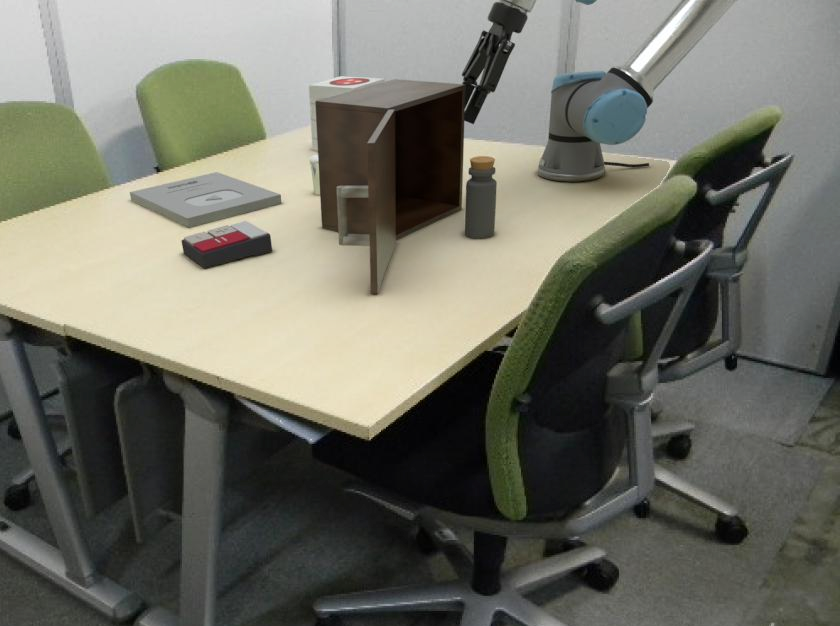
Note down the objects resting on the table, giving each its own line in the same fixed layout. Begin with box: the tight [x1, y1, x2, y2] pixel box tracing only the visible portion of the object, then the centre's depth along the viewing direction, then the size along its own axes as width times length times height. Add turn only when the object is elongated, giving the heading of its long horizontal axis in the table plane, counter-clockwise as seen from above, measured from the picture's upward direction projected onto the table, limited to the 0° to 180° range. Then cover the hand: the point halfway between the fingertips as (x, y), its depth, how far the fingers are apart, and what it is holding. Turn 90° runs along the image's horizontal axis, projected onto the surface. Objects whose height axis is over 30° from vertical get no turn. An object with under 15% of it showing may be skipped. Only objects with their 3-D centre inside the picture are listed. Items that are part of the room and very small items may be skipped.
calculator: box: [181, 220, 273, 269], centre depth 170 cm, size 11×4×15 cm
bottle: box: [464, 155, 498, 239], centre depth 168 cm, size 6×6×15 cm
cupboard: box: [315, 78, 466, 241], centre depth 177 cm, size 18×26×26 cm
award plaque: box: [129, 171, 282, 229], centre depth 204 cm, size 25×30×2 cm
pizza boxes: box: [308, 75, 386, 152], centre depth 233 cm, size 19×30×18 cm, turn 31°
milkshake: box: [309, 154, 320, 196], centre depth 202 cm, size 4×5×10 cm
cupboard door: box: [337, 110, 397, 295], centre depth 153 cm, size 7×26×26 cm, turn 168°
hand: (461, 117), depth 182 cm, fingers open, 7 cm apart
